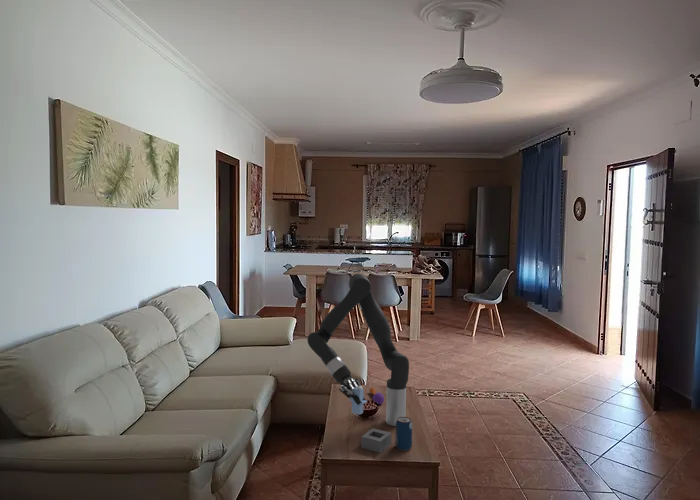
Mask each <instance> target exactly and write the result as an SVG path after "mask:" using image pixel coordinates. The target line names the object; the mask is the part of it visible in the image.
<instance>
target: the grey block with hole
mask: <svg viewBox="0 0 700 500" xmlns="http://www.w3.org/2000/svg"><path fill="white" fill-rule="evenodd" d="M360 441H361V443H360V444H361V445H360V446H361V447H360V448H362V449H365V450H367V451H371V452H375V453H379V454H382V452H384V451H385V450H386V449H387V448H389V446H391V445H392V432H390V431H389V432H388V431H385V430H382V429H378V428H370V430H368V431H367V432H365V433H364V434H362V435H361V438H360Z"/></svg>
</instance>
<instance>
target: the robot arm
mask: <svg viewBox="0 0 700 500" xmlns="http://www.w3.org/2000/svg"><path fill="white" fill-rule="evenodd" d="M348 287H349V290H348V292H347V294H346V295H345V297H343V299H341V300H340V302H339V303H338V304H336V305H335V306H334V307H333V308H332V309H331V310H330V311H329V312H328V313H327V314H326V316H325V317H324V318H323V320H322V321H321V322H320V327H319V329H318V330H317V331H314V332H311V333H309V335H307V345H308V346H309V348H310V349H311V350H312V351H313V352H314V354H315V355H317V356H318V357H319V358H320V359H321V361H322V363H323V364H324V365H325V367H326V368H327V371H328V372H329V374H330V375H331V376H332V378H333V379H334V381H335V382H336V383H337V384H340V387H339V388H338V390H339V391H340V392H341V393H342V394H343V395H344V396H346V398H348V399H350V398H353V399H354V401H355V402H356V403H357V405H359V404H360V403H361V400H360V399H359V397H358V396H357V395H356V393H355V391H354V387H358V386H362V385H361V381H360V379H359V378H358V377H357V378H354V377H352V376H351V375H352V372H351V370H350V369H349V368H348V366H347V365H346V363H345V362H344V360H342V358H341V357H340V356H339V355H338V353H337V352H336V351H335V349H334V348H333V347H331V346H329V345H328V342H329V340H330V339H331V337H332V335H333V333H334V332H335V331H336V329H337V328H338V327H339V326H340V324H341V323H342V322H343V321H344V319H346V317H347V316H348V315H349V313H350V312H351V311H352V310H353V309H354V308H355V307H356V306H357V305H358V304H359V306H360V308H361V313H362V315H363V318H364V321H365V322H366V325H367V327H368V329H369V331H370V334H371V335H372V338H373V340H374V341H375V343H376V345H377V347H378V349H379V352H380V355H381V357H382V360H383V363H384V365H385V367H386V368H387V369H388V370H389V371H391V372H390V378H388V379H387V380H386V393H385V394H386V397H385V399H386V405H385V423H386V424H387V425H388V426H392V427H396V422H397V419H398V418H399V417H406V413H407V411H406V409H407V406H406V405H407V403H406V402H407V385H408V381H409V374H410V373H409V372H410V362H409V358H408V357H407V356H406V355H405V354H402V353H401V352H399V351H398V350H397V348H396V347H395V344H394V343H393V340H392V332H391V330H392V329H391V327H390V324H389V321H388V319H387V317H386V315H385V314H384V311H383V310H382V308H381V306H380V305H379V303H378V302H377V301H376V299H375V297H374V295H373V293H372V290H371V289H372V284H371V282H370V280H369V279H368V278H367V276H366V275H364V274H362V273H354V274H353V275H352V276H351V277H350V278H349V281H348ZM363 400H366V401H367V399H366V397H365V396H364V398H363Z"/></svg>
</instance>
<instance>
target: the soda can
mask: <svg viewBox="0 0 700 500" xmlns="http://www.w3.org/2000/svg"><path fill="white" fill-rule="evenodd" d="M394 437H395V442H394V443H395V446H396V449H398V450H399V451H408V450H410V449H411V448H412V447H413V446H412V445H413V422H412V418H410V417H408V416H405V417H399V418H398V419H397V422H396V426H395V436H394Z"/></svg>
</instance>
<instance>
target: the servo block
mask: <svg viewBox="0 0 700 500" xmlns="http://www.w3.org/2000/svg"><path fill="white" fill-rule="evenodd" d="M364 390H365V388H363V386H362V385H361V386H358V387H354V391H355V393H356V395H357V396H358V397H359V399H360V400H361V403H360V404H359V405H357V403H356V402H355V401H354V399H353V398H351V397H350V398H348V401H349V402H351V414H355V415H359V416H360V415H362V414H363V413H364V405H365V404H366V403H367V402H368V400H367V399H366V400H363V398H364V397H365V396H364V395H365V393H364V392H365V391H364Z"/></svg>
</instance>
